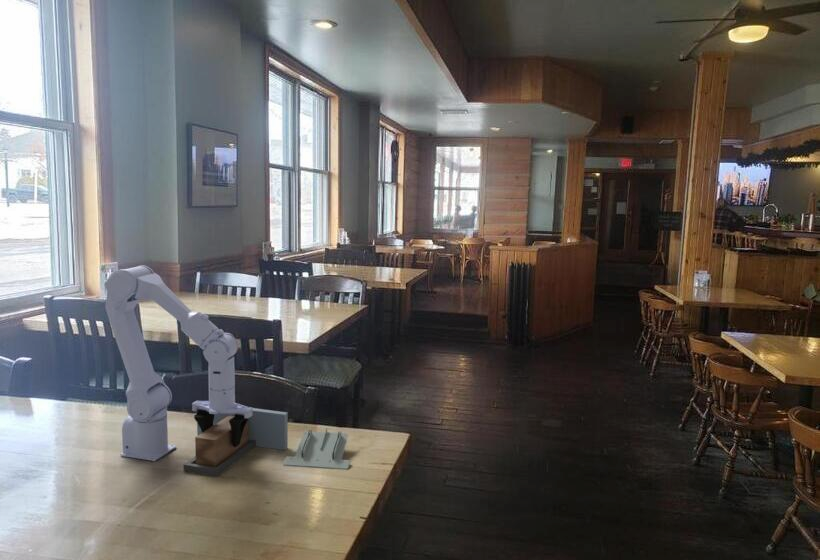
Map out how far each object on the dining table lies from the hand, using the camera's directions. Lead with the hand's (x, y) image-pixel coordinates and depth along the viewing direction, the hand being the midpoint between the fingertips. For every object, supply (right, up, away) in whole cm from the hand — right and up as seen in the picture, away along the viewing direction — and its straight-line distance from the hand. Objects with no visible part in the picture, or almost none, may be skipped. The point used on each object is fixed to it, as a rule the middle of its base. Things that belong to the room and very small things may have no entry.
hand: (222, 443), depth 134 cm
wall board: (0, -3, 0) cm, 3 cm away
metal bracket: (+23, -4, +3) cm, 23 cm away
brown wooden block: (0, -3, +1) cm, 3 cm away
